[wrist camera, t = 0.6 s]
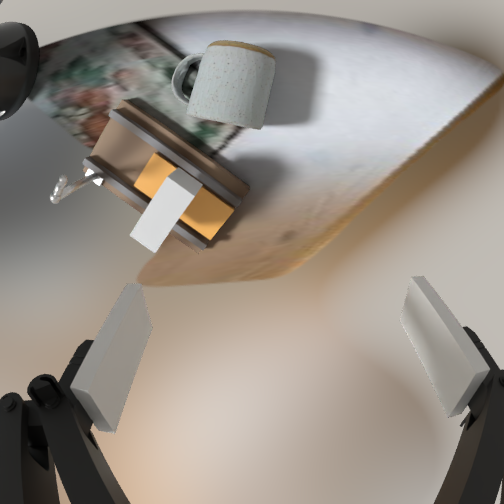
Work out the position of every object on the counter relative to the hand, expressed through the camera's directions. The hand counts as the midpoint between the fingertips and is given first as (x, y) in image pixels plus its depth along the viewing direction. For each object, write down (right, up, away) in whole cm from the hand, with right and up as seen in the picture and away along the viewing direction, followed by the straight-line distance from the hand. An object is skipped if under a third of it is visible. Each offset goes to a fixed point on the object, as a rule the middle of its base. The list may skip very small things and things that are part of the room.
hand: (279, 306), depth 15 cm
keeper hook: (-19, +12, +19) cm, 30 cm away
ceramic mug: (-4, +21, +16) cm, 27 cm away
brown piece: (-12, +12, +21) cm, 26 cm away
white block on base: (-9, +9, +20) cm, 24 cm away
